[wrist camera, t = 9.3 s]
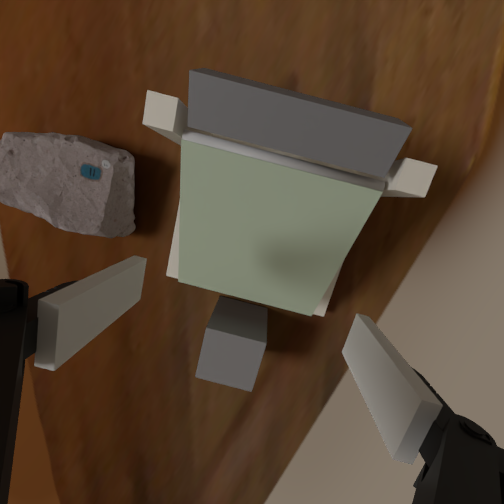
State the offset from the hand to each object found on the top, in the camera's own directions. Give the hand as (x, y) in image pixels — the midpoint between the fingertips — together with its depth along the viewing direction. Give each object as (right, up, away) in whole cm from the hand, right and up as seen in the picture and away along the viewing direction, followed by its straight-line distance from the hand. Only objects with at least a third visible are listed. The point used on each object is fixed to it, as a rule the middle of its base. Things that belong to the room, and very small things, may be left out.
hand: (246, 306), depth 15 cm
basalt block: (-2, -8, +10) cm, 13 cm away
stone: (-18, +11, +14) cm, 25 cm away
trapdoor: (+2, +7, +7) cm, 10 cm away
